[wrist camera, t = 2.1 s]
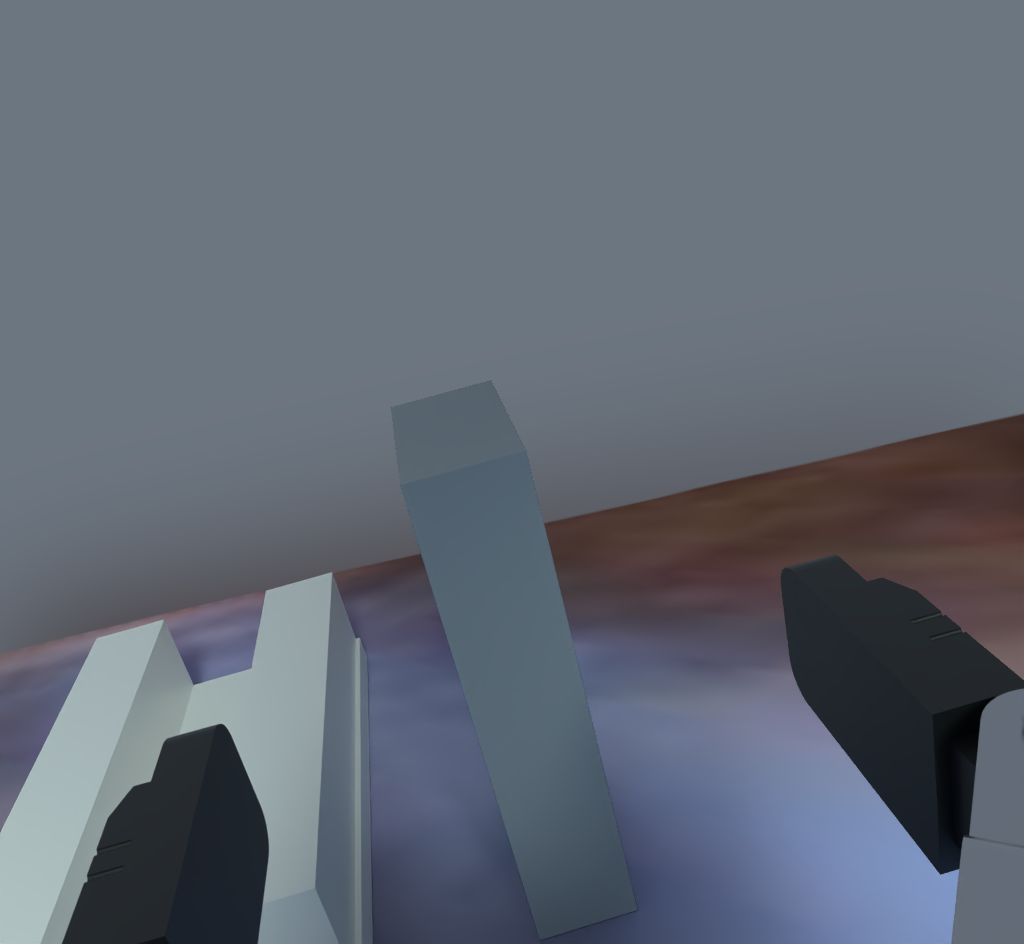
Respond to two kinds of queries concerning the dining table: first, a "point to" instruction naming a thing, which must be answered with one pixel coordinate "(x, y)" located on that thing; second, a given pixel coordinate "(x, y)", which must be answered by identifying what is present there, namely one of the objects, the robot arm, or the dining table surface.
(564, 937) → the dining table surface
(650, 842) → the dining table surface
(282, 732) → the rail
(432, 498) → the slate slat
